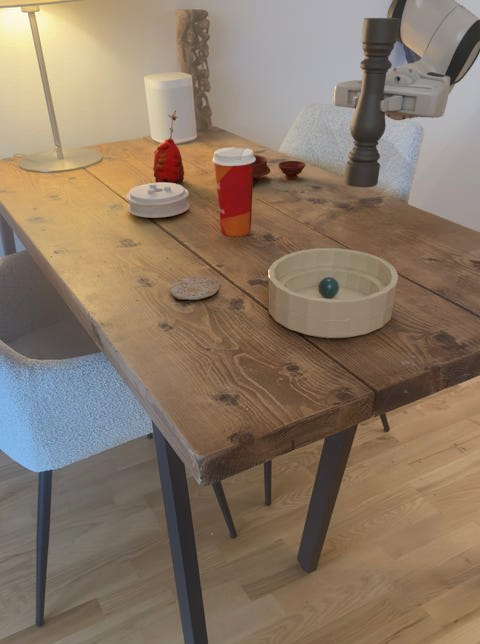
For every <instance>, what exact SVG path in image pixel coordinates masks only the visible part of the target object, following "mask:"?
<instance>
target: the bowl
mask: <svg viewBox="0 0 480 644" xmlns="http://www.w3.org/2000/svg"><path fill="white" fill-rule="evenodd" d="M267 272H268V273H267V274H268V275H267V276H268V277H267V308H268V309H267V310H268V313H269V315H270V316H271V317H272V319H274V321H275V322H277V323H278V324H279V325H281V326H283V327H285V328H286V329H287V330H291V331H294V332H297V333H300V334H303V335H307V336H309V337H310V336H311V337H315V338H322V339H344V338H352V337H358V336H363V335H367V334H369V333H372V332H374V331H377V330H379V329H381V328H383V327H384V326H385V325H386V324H387V323H388V322H390V320H392V316H393V313H394V312H393V311H394V306H395V301H396V294H397V288H398V283H399V274H398V272H397V270H396V268H395V266H393V264H391V263H389V262H388V261H387V260H386V259H384V258H381V257H379V256H376V255H374V254H372V253H367V252H364V251H359V250H355V249H348V248H338V247H326V248H325V247H319V248H318V247H316V248H308V249H302V250H297V251H294V252H291V253H288V254H285V255H282V256H281V257H279V258H278V259H276V260H274V261H273V262H272V264H271V265H270V267H269V268H268V270H267ZM326 277H332V278H334V279H335V280H336V281H337V282H338V284H339V291H338V293H337V294H336V295H335V296H334V297H332V298H324V297H323V296H321V295H320V293H319V290H318V286H319V283H320V281H321V280H322V279H324V278H326Z"/></svg>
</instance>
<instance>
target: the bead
mask: <svg viewBox="0 0 480 644" xmlns="http://www.w3.org/2000/svg"><path fill="white" fill-rule="evenodd" d="M318 290H319V293H320V295H321V296H323V297H324V298H332V297H334V296H335V295H336V294H337V293H338V291H339V284H338V282H337V281H336V280H335V279H334V278H332V277H326V278H324V279H322V280H321V281H320V283H319V286H318Z"/></svg>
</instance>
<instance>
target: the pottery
mask: <svg viewBox="0 0 480 644" xmlns="http://www.w3.org/2000/svg"><path fill="white" fill-rule="evenodd" d="M254 157H255V159H256V160H255V161H254V169H253V182H254V183H256V182H258V181H259V178H261V177H265V176H267V175H269V174H271V168H270V167H268V159H267V158H266V157H264V156H262V155H256V154H254ZM306 165H307V164H306V163H305V162H303V161H299V160H285V161H281V162H279V163H278V164H277V166H278V168H279V169H280V172H281V173H282V174H283V175H284V179H285V180H287V181H295V180H297V179H298V177H299V176H298V175H300V174H301V173H302V171H303V170H304V169H305V168H306ZM257 180H258V181H257Z"/></svg>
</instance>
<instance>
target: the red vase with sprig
mask: <svg viewBox="0 0 480 644" xmlns="http://www.w3.org/2000/svg"><path fill="white" fill-rule="evenodd" d="M176 113H177V110H174V111H173V114H171V115H170V114H168V115H167V116H168V117H170V118H171V125H170V126H171V127H169V130H170V137H169V138H168V139H164V141H162V142H161V143H160V144H158V145H157V147H156V150H155V151H153V155H154V158H153V167H152V169H153V170H152V171H153V177H154V181H155V182H154V183H159V182H165V183H174V184H175V183H177V184H179V183H181V182H183V181H184V178H185V177H184V176H185V168H184V165H183V160H182V159H183V158H182V155H181V152H180V149H179V147H178V146H177V145H176V143H175V140H174V139H173V138H172V136H173V135H172V134H173V132H174V129H173V123H174V121H176V120H177V119H178V118H179V116H176Z"/></svg>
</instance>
